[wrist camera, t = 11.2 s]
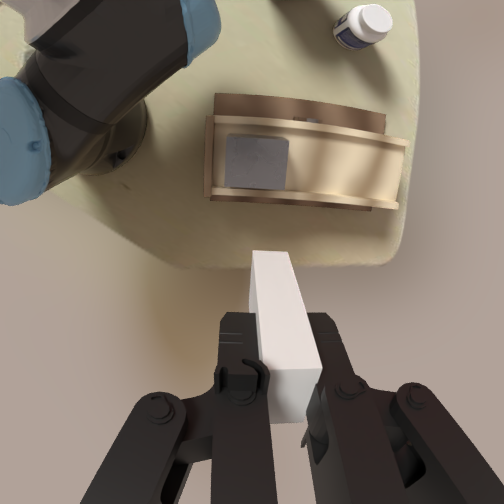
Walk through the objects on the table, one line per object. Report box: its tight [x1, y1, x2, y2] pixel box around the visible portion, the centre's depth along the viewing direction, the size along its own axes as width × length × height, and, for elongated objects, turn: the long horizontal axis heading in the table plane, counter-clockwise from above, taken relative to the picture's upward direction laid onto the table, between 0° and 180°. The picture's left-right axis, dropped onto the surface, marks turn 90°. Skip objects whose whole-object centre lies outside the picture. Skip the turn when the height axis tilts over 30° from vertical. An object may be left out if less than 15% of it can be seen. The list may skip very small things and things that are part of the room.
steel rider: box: [224, 133, 289, 190], centre depth 30 cm, size 6×5×5 cm
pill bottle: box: [333, 4, 393, 50], centre depth 28 cm, size 5×5×10 cm
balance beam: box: [204, 115, 410, 210], centre depth 33 cm, size 24×10×4 cm, turn 86°
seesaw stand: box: [210, 93, 386, 211], centre depth 38 cm, size 24×15×5 cm, turn 86°
